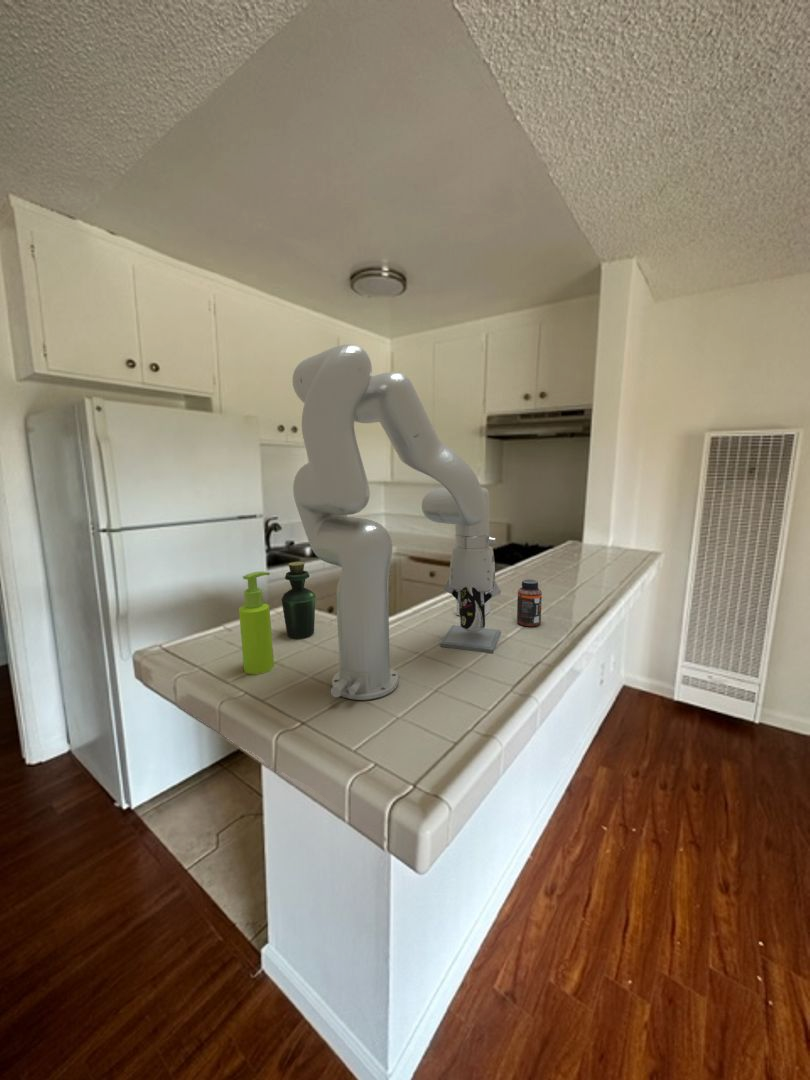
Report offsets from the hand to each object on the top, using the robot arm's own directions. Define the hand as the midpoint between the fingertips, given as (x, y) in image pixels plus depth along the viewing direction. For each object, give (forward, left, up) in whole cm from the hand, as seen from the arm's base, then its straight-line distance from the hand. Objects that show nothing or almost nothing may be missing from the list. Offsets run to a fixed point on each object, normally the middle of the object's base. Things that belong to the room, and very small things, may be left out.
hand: (471, 618), depth 103 cm
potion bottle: (-9, +41, -5) cm, 42 cm away
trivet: (0, 0, -5) cm, 5 cm away
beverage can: (0, 0, -3) cm, 3 cm away
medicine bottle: (+18, +3, -5) cm, 19 cm away
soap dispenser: (-27, +39, -5) cm, 48 cm away
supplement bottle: (+15, -12, -5) cm, 20 cm away
